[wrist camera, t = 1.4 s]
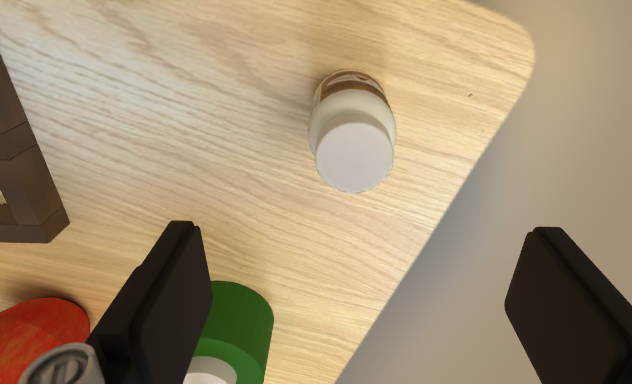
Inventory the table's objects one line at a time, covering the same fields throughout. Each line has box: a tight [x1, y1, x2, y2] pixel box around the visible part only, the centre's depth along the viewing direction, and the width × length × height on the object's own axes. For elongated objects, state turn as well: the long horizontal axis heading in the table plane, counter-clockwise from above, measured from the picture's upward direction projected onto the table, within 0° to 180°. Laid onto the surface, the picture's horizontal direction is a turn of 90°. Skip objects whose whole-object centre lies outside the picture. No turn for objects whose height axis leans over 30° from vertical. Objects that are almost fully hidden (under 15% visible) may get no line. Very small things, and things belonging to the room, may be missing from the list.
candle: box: [183, 281, 274, 384], centre depth 29 cm, size 8×8×10 cm
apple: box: [0, 297, 90, 384], centre depth 29 cm, size 8×8×11 cm
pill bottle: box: [308, 69, 396, 193], centre depth 20 cm, size 4×4×8 cm
